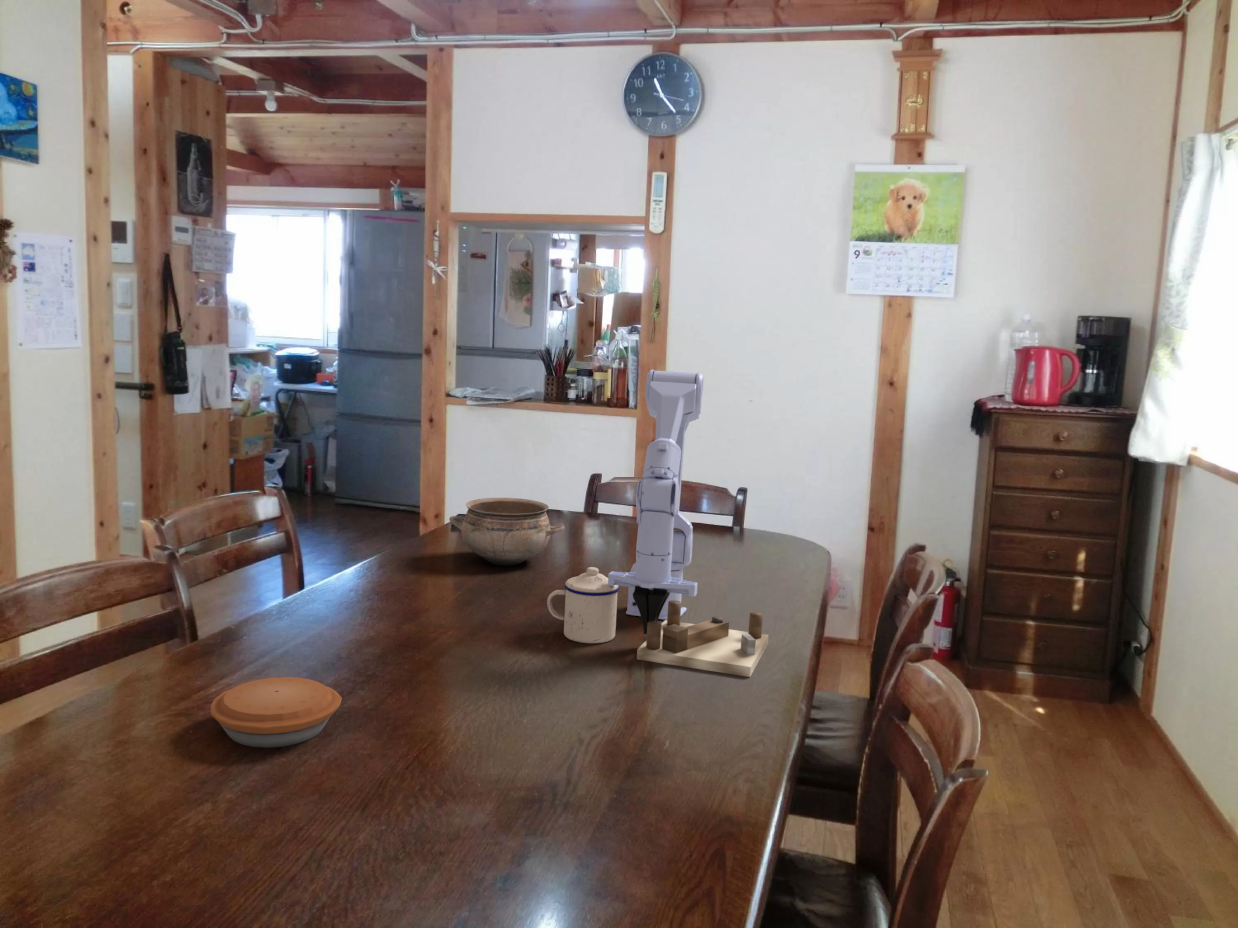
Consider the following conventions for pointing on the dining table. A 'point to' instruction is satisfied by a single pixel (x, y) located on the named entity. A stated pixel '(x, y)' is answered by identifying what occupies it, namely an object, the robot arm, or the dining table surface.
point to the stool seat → (708, 646)
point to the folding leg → (693, 634)
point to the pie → (275, 711)
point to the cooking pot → (506, 529)
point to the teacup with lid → (588, 607)
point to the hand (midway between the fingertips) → (649, 632)
